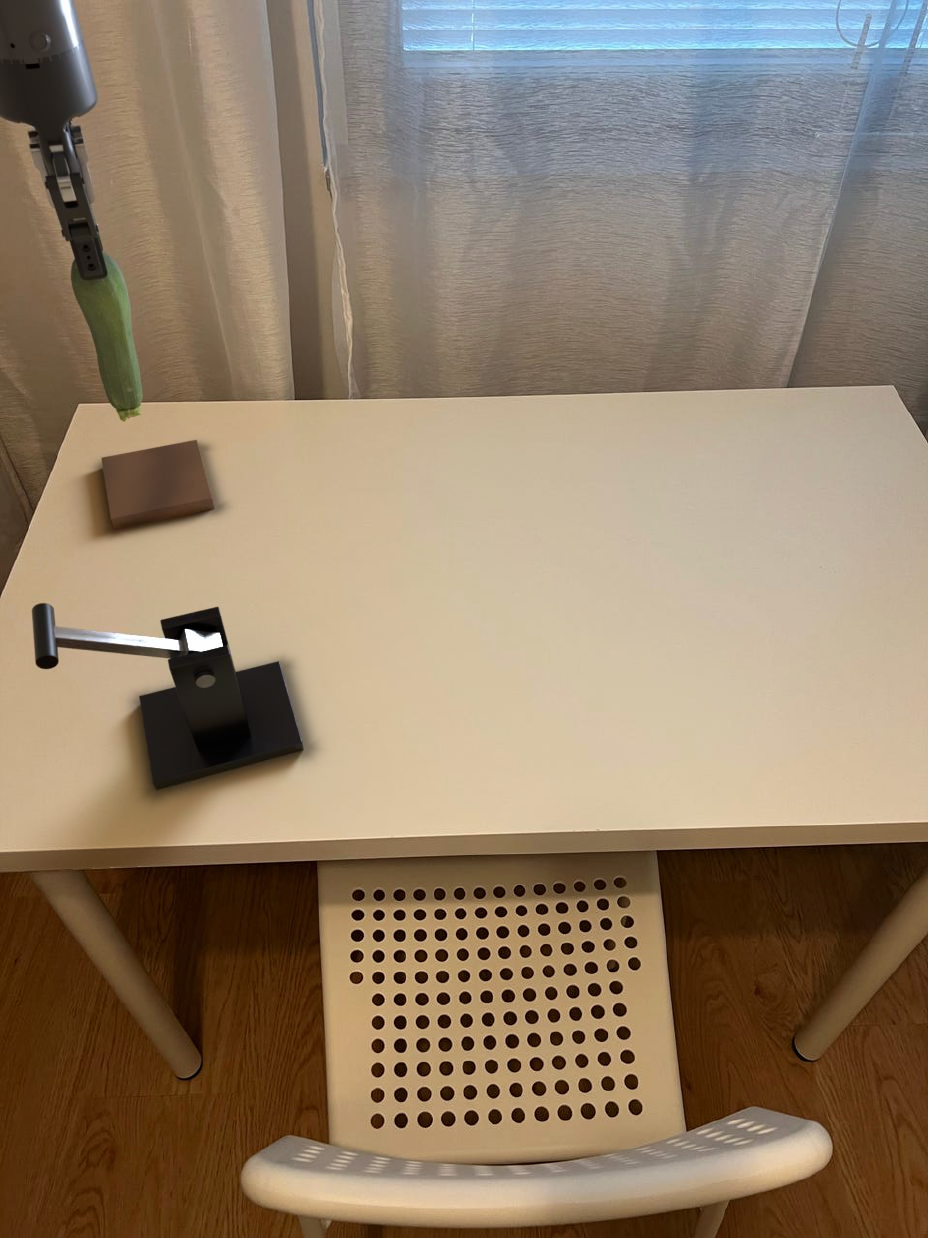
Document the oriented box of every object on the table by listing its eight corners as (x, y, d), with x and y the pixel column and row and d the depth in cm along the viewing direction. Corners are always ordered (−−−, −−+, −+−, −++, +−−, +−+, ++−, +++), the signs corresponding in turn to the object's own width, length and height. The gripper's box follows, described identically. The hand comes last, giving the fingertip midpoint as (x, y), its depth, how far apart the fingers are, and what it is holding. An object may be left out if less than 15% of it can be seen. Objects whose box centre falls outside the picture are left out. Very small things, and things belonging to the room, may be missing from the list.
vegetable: (110, 404, 92) (48, 198, 77) (156, 397, 92) (103, 192, 78) (113, 430, 89) (49, 222, 74) (160, 423, 90) (106, 216, 75)
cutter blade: (31, 673, 63) (40, 649, 62) (27, 620, 67) (36, 596, 65) (217, 688, 71) (228, 667, 70) (206, 640, 74) (216, 619, 73)
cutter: (155, 791, 75) (118, 704, 66) (142, 703, 80) (105, 612, 71) (304, 750, 77) (287, 661, 68) (281, 669, 83) (262, 576, 74)
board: (114, 530, 94) (110, 519, 93) (104, 468, 100) (101, 457, 99) (215, 509, 96) (212, 498, 95) (199, 450, 102) (196, 439, 101)
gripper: (-31, 8, 70) (41, 232, 83) (-30, 76, 61) (51, 315, 74) (74, 0, 72) (129, 221, 85) (90, 65, 63) (148, 300, 76)
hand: (92, 264), depth 79 cm, fingers closed on vegetable, 3 cm apart
